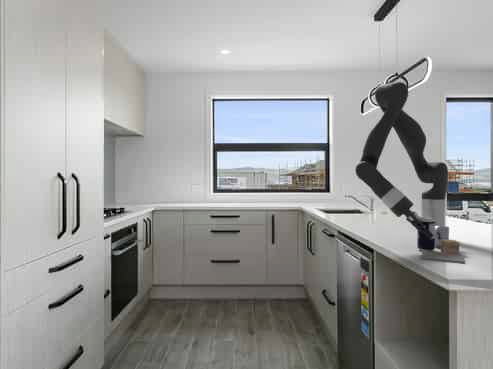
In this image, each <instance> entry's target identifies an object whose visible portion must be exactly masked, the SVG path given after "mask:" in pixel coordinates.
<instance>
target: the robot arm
mask: <svg viewBox="0 0 493 369" xmlns="http://www.w3.org/2000/svg"><path fill="white" fill-rule="evenodd" d="M374 98H375V102H376V104H377V105H378V107H379V108H380V109H381V111H382V113H383V115H382V116H381V117H380V119H379V120H378V122H377V123H376V124H375V125H374V126H373V128H371V130H370V132H369V134H368V135H367V138H366V140H365V143H364V145H363V150H362V155H361V158H360V160H359V161H360V162H359V163H357V165H356V166H355V170H354V171H355V175H356V176H357V178H358V179H359V180H361V181H362V182H363V183H365V184H366V185H367V187H369V188H370V189H371V191H372V193H374V195H375V196H377V197H378V199H379V200H381V202H382V203H383V204H384V205H385V206H386V207H387V208H388V210H389V211H390V212H392V213H393V214H394V215H395V217H397V218H400V217H401V216H403V215H404V216H405V220H406V222H408V223H410V224H411V226H413V228H415V229H416V230H417V232H418V231H420V232H422V233H423V234H424V235H425V236H426V237H427V238H428V239H430V238H432V237H433V234H432V233H431V232H430V231H429V230H428V229H427V228H426V227H425V225H424V224H423V223H422V220H421V219H420V218H419V217H431V218H434V220H435V226H446V195H447V192H448V179H449V168H448V166H447V164H446V163H445V162H442V161H441V162H439V161H436V162H433V161H432V162H428V161H427V159H426V157H425V156H424V152H425V149H426V144H427V137H426V134H425V132H424V131H423V128H422V127H421V124H420V123H419V122H418V121H417V120H415V119H414V118H413V117H412V116H411V115H409V114H408V113H406V112H405V111H404V110H403V108H404V106H405V104H406V103H407V100H408V98H409V88H408V86H407V84H406V83H404V82H400V81H397V82H396V81H395V82H389V83H388V82H387V83H383V84H380V85H378V86H377V87H376V89H375V92H374ZM392 128H393V129H394V131H395V133H396V134H397V137H398V139H399V141H400V142H401V144H402V146H403V148H404V149H405V151H406V153H407V154H408V157H409V158H410V161H411V163H412V166H413V168H414V171H415V173H416V176H417V178H418V180H419V181H420V182H422V183H424V184H432V187H431V188H430V189H428V190H425V191H423V192H422V193H421V208H420V209H421V214H420V215H419V214H418V213H417V212H416V211H412V210H411V208H412V207H413V206H414V203H413V201H412V200H410V199H409V198H408V197H407V196H406V195H405V194H404V193H403V192H402V191H401V190H400V189H398V188H397V187H396V186H395V185H393V183H392V182H390V181H389V180H388V179H387V178H386V177H384V175H383V174H382V173H381V172H380V171H379V169H378V165H379V160H380V158H381V156H382V153H383V150H384V148H385V144H386V142H387V140H388V137H389V135H390V132H391V131H392ZM419 224H420V226H419V227H418V225H419Z"/></svg>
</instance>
